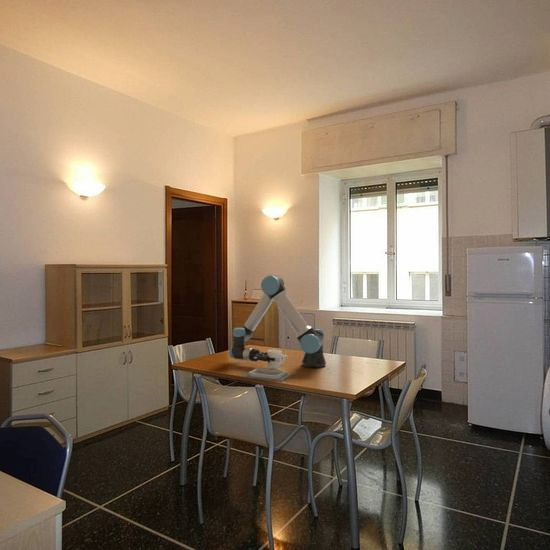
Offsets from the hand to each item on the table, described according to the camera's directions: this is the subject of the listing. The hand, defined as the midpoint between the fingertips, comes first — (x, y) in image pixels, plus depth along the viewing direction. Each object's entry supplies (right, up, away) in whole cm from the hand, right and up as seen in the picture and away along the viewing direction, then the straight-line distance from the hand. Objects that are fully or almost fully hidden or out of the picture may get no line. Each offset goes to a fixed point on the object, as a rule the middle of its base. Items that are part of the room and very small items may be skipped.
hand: (283, 358), depth 263 cm
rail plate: (-10, -7, -13) cm, 18 cm away
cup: (-4, -6, +2) cm, 8 cm away
